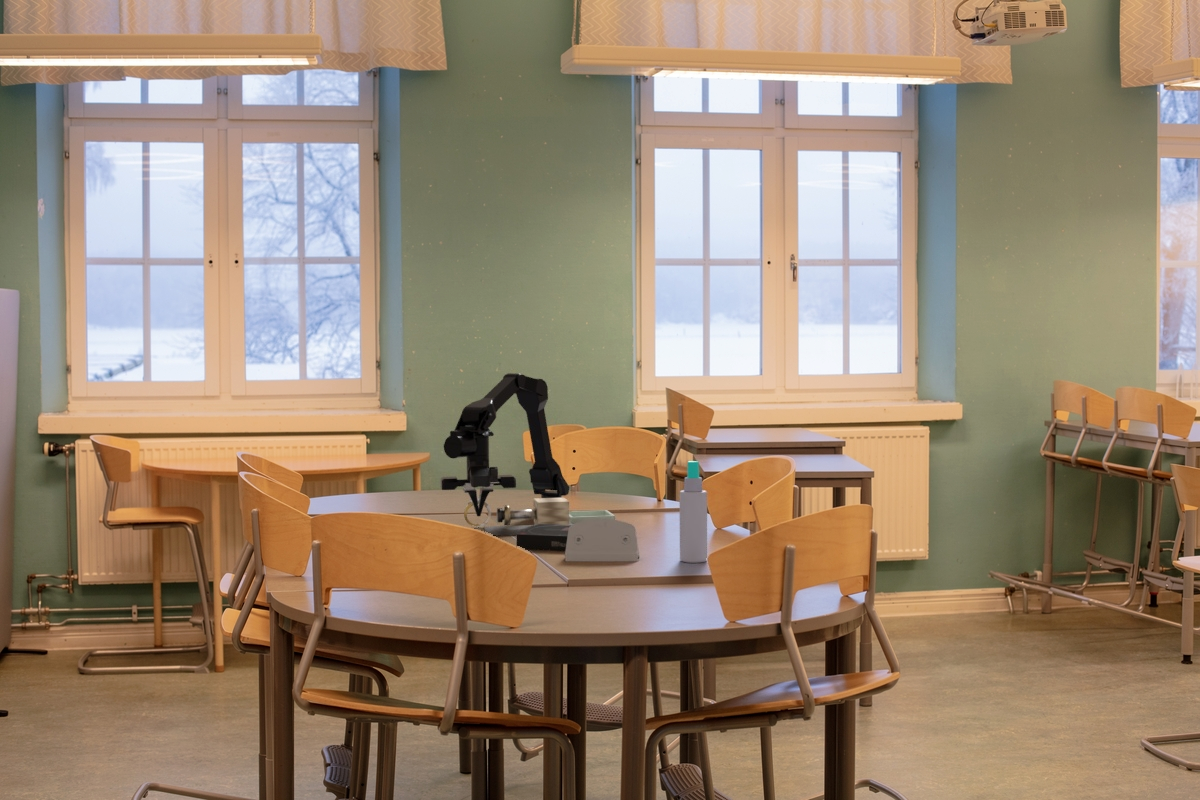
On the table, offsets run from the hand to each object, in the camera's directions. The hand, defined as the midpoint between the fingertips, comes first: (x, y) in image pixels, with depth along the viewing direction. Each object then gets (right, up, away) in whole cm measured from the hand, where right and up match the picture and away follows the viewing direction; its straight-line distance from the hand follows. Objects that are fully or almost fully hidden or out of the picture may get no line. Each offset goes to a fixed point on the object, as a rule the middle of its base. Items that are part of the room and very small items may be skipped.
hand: (478, 516), depth 300 cm
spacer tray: (+28, -4, +17) cm, 33 cm away
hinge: (+31, -6, -35) cm, 48 cm away
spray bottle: (+51, -6, -39) cm, 65 cm away
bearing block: (+14, -4, +3) cm, 15 cm away
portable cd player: (+21, -6, -17) cm, 28 cm away
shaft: (+11, -2, +2) cm, 11 cm away
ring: (-1, -4, +10) cm, 11 cm away
